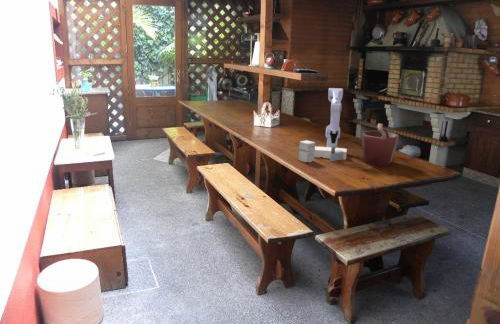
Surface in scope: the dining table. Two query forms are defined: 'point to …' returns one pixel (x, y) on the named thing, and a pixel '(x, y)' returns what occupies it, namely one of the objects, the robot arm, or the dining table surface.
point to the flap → (335, 155)
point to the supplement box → (306, 151)
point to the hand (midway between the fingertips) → (333, 142)
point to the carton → (328, 152)
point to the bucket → (378, 146)
